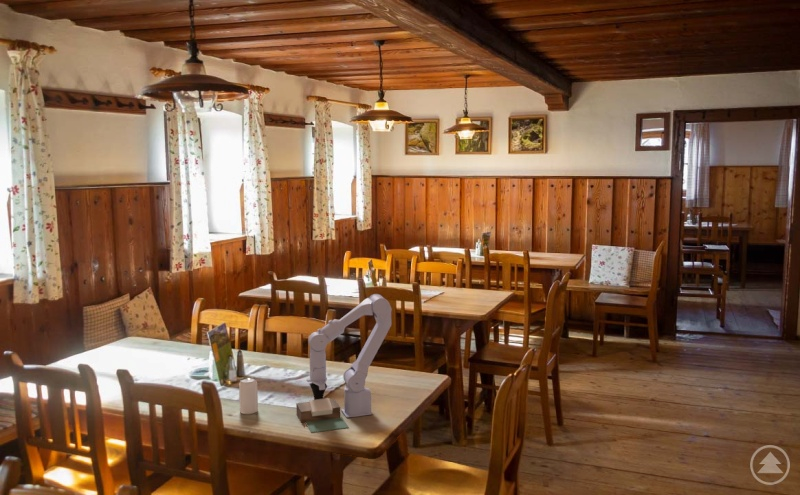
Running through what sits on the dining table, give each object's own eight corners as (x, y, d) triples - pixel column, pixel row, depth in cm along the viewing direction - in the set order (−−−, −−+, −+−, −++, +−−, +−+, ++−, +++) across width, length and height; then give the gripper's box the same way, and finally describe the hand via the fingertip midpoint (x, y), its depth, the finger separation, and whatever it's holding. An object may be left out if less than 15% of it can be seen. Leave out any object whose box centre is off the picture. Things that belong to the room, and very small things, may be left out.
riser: (334, 409, 246) (334, 398, 245) (340, 418, 237) (340, 407, 237) (296, 413, 241) (296, 403, 241) (301, 422, 233) (301, 411, 232)
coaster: (328, 402, 238) (328, 398, 237) (332, 413, 233) (332, 409, 233) (309, 404, 236) (309, 400, 235) (312, 416, 231) (312, 411, 230)
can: (259, 408, 247) (258, 376, 246) (256, 414, 241) (255, 382, 239) (241, 408, 247) (240, 377, 245) (238, 415, 240) (237, 382, 239)
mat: (341, 418, 237) (341, 417, 237) (348, 427, 228) (348, 427, 228) (305, 422, 233) (305, 421, 233) (311, 432, 224) (311, 432, 224)
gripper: (302, 361, 242) (303, 397, 244) (310, 373, 229) (311, 411, 230) (321, 359, 244) (322, 395, 246) (330, 371, 231) (331, 409, 232)
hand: (318, 403), depth 238 cm, fingers closed
